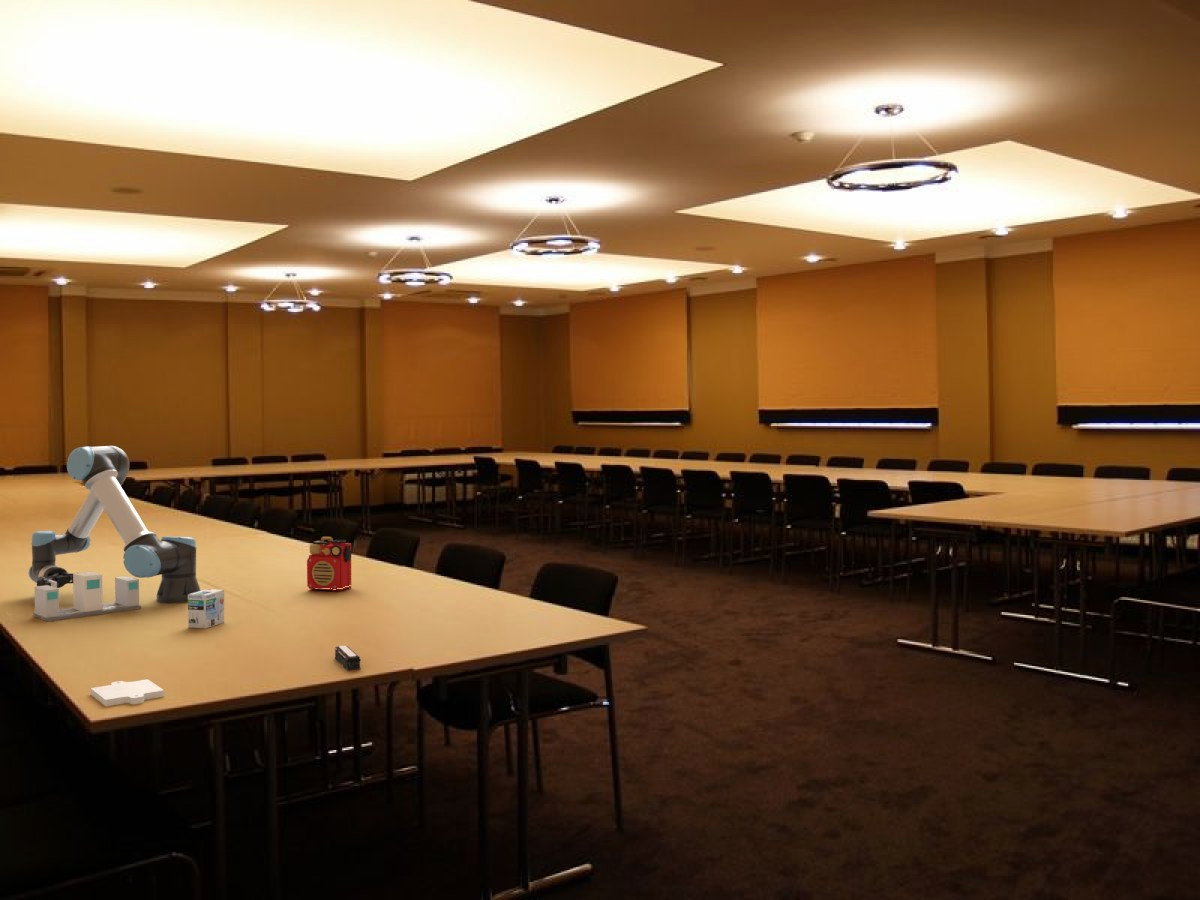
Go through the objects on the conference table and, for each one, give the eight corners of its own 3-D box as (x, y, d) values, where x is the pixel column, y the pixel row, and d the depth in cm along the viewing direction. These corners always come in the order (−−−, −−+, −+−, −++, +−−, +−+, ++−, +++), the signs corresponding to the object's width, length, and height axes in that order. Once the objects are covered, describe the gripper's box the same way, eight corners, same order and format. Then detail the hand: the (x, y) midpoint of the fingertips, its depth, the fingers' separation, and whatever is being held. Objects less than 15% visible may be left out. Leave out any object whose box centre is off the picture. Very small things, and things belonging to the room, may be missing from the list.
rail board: (125, 603, 355) (125, 600, 355) (141, 608, 346) (141, 605, 346) (33, 615, 333) (33, 612, 333) (47, 621, 324) (47, 618, 324)
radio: (304, 590, 383) (304, 538, 382) (318, 586, 393) (317, 535, 392) (342, 592, 379) (341, 540, 379) (354, 588, 389) (354, 537, 388)
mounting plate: (167, 700, 237) (167, 692, 237) (108, 710, 228) (108, 702, 228) (144, 684, 251) (144, 677, 250) (88, 693, 242) (88, 686, 242)
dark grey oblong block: (332, 677, 259) (332, 661, 259) (313, 656, 281) (313, 642, 281) (387, 671, 266) (387, 655, 265) (364, 651, 288) (364, 637, 288)
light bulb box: (206, 629, 314) (205, 595, 314) (187, 628, 315) (186, 594, 315) (225, 622, 324) (225, 589, 324) (206, 621, 326) (206, 588, 325)
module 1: (47, 611, 335) (47, 585, 334) (59, 616, 328) (59, 588, 327) (34, 613, 332) (34, 586, 331) (46, 617, 325) (45, 590, 324)
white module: (92, 606, 345) (91, 571, 344) (103, 609, 338) (102, 574, 338) (73, 608, 340) (73, 573, 340) (84, 612, 334) (83, 576, 334)
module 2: (127, 601, 354) (126, 576, 354) (139, 605, 347) (139, 579, 347) (115, 602, 351) (115, 577, 351) (127, 606, 344) (127, 580, 344)
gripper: (90, 582, 369) (114, 589, 355) (15, 591, 351) (37, 599, 337) (90, 562, 369) (113, 568, 355) (15, 570, 351) (37, 577, 336)
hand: (76, 583), depth 346 cm, fingers open, 13 cm apart
